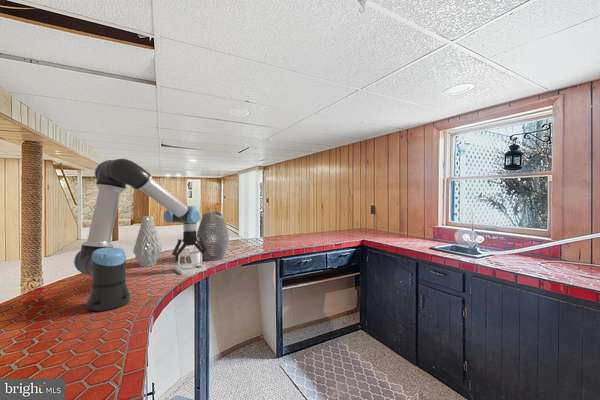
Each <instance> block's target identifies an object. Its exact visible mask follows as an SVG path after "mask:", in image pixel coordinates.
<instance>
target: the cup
mask: <svg viewBox="0 0 600 400" xmlns="http://www.w3.org/2000/svg"><path fill="white" fill-rule="evenodd" d="M186 257H189V259H190V261H191V263H192V264H193V265H191V264H190V263H188V262H187V261H186V260H187V259H186ZM184 263H186V264H189V265H191V267H198V265H200V264H201V263H200V251H199V250H194V251H191V252H189V253H188V254H186V255H185V257H184Z"/></svg>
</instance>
